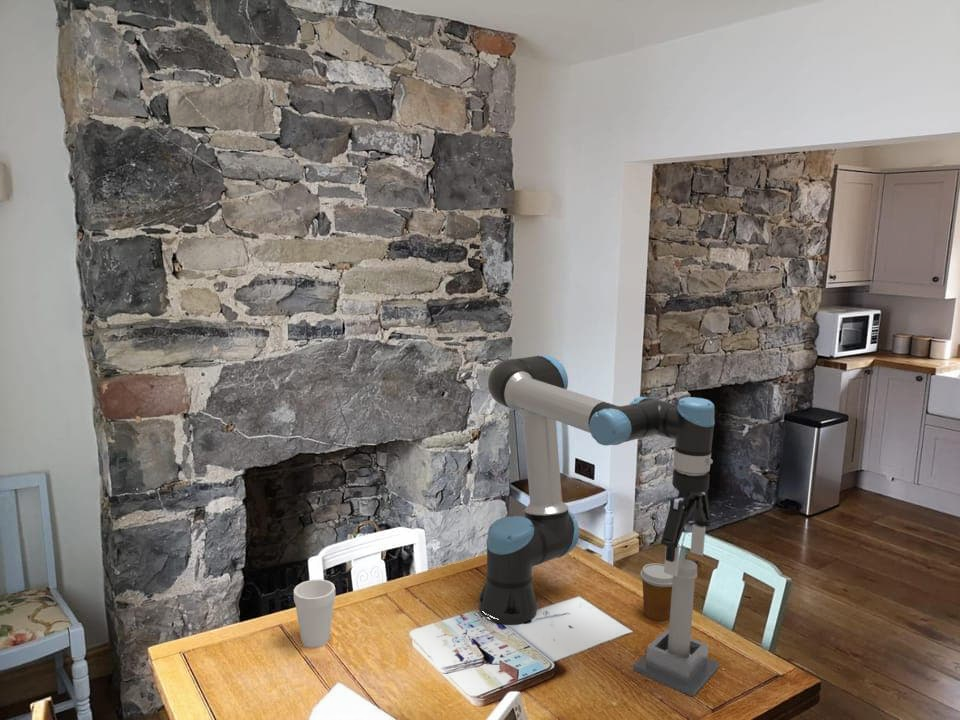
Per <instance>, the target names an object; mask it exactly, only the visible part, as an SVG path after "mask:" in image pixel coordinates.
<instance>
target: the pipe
mask: <svg viewBox="0 0 960 720" xmlns="http://www.w3.org/2000/svg"><path fill="white" fill-rule="evenodd" d="M678 546H680V548H679V549H681V552H682V555H683V558H679V561H678V574H677V576H673V582H672V596H671V610H670V615H669V623H668V624H669V626H668V629H669V638H668V649H667V650H666V651H667V652H669V653H672V654H674V655H677V656H679V657H682V658H684V659H686V660H687V659H688V658H689V657H690V656H691V655H690V653H689V651H690V638H692V636H691V635H692V624H693V623H692V622H693V611H694V608H693V607H694V595H695V586H696V579H698V564H697V563H696V562H694V560H691V559H687V558H686V557H685V551H684V550H683V548H682V547H681V545H680V543H678Z"/></svg>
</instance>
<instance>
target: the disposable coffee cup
mask: <svg viewBox="0 0 960 720" xmlns="http://www.w3.org/2000/svg"><path fill="white" fill-rule="evenodd" d="M664 565H665V563H664V564H663V563H655V562H654V563H648V564H645V565H644V566H643V567H642V569H641V571H640V577H641V579H642V580H641V581H642V596H643V597H642V598H643V613H644V615H645V616H646V617H647V618H648V619H650V620H654V621H666V620H668V619H670V610H671V596H672V582H673V575H670V574H667V573H664Z"/></svg>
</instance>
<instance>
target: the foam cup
mask: <svg viewBox="0 0 960 720" xmlns="http://www.w3.org/2000/svg"><path fill="white" fill-rule="evenodd" d="M335 599H336V587H335V584H334V583H333V582H331V581H330V580H326V579H309V580H306V581H302V582H300V583H299V584H297V585H296V586H295V587H294V589H293V601H294V602H293V603H294V604H295V609H296V616H297V622H298V628H299V633H300V635H299V636H300V639H301V640H300V641H301V643H302V645H303V646H304V647H306V648H310V649H313V648H320V647H323V646H325V645H327V643H328V642H329V641H330V635H331V627H332V622H333V621H332V620H333V611H334V605H335Z"/></svg>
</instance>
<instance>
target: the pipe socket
mask: <svg viewBox="0 0 960 720" xmlns="http://www.w3.org/2000/svg"><path fill="white" fill-rule="evenodd" d="M668 638H669V628H666V629H665V630H663V631H662V632H661V633H660V634H659V635H658V636H657V637H656V638H655V639H654V640H653V641H651V642H650V643H649V644H648V645H647V647H646V653H645V654H644V655H643V656H642V657H640V658H639V660H637V662H635V663H634V664H633V668H632V669H633V672H636V673H639V674H641V675H643V676H645V677H646V678H647V677H648V678H650V679H652V680H654V681H656V682H659V683H660V684H663V685H665V686H668V687H670V688H672V689H674V690H677V691H679V692H681V693H683V694H686V695H688V696H690V697H692V698H694V696H695V695H696V694H697V693H698V692H699V691H700V690H701V689H702V687H703V686H704V685H705V684H706V683H707V682H708V681H709V680H710V678H711V677H712V676H713V675H714V674H715V672H716V671H717V670H718V669H719V667H720V663H719V661H716V660H714V659H711V658H708V654H709V644H707V643H705V642H703V641H700V640H697V639H696V638H692V637H691V638H690V651H689V653H690V655H691V656H690V657H689V658H688V659H687V660H686V659H684V658H682V657H679V656H677V655H674V654H672V653H669V652H667V651H666V650H667V649H668Z"/></svg>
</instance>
